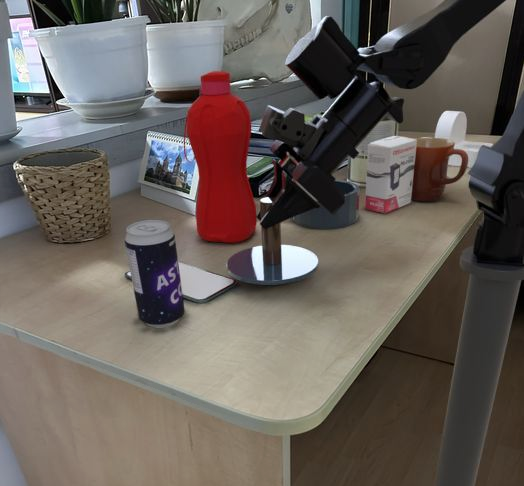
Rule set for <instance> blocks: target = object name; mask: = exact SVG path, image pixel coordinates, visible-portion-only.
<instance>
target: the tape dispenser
mask: <svg viewBox="0 0 524 486" xmlns="http://www.w3.org/2000/svg"><path fill="white" fill-rule="evenodd" d="M467 121H468V120H467V114H466V113H465V112H464V111H457V110H445V111H443V113H441V115H440V116H439V119H438V121H437V125H436V128H435V131H434V138H442V139H448V140H451V141H453V142H455V145H454V149H461V150H464V151H465V152H466V153H467V155H468V165H467V168H470V169H471V168H472V167H473V165H474V163H475V161H476V158H477V154H478V151H479V149H480V147H481V146H482V145H485V146H487V147H490V148H491V147H492V146H493V145H494V143H492V142H491V143H490V142H481V141H470V140H469V141H468V140H466V135H467V128H468V127H467V125H468V122H467ZM421 138H429V137H428V136H427V137H426V136H424V137H423V136H421ZM461 163H462V158H461V156H460V155H457V154H454V155H451V156H450V157H449V161H448V166H454V167H461Z"/></svg>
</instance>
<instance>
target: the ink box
mask: <svg viewBox="0 0 524 486" xmlns="http://www.w3.org/2000/svg"><path fill="white" fill-rule="evenodd" d="M416 139H417V138H411V137H406V136H402V135H401V136H400V135H398V136H392V137H388V138H385V139H381V140H378V141H375V142H371V143H370V144H368V157H367V177H366V187H365V199H364V209H365V210H369V211H373V212H376V213H381V214H388V213H391V212H392V211H395V210H397V209H400V208H402V207H404V206H407V205H410V204H411V203H412V200H411V194H412V185H413V175H414V165H415V156H416V146H417V140H416Z"/></svg>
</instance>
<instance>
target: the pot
mask: <svg viewBox="0 0 524 486" xmlns="http://www.w3.org/2000/svg"><path fill="white" fill-rule="evenodd" d="M334 182H335V183H336V184H337V185H338V186H339V187H340V188H341V189H342V190H343V191H344V192H345V203H344V204H343V205H342V207H341V208H340V209H339V210H338V211H337V212H336V213H335V214H334V215H333V214H331V213H330V212H329V211H328V210H327V209H326V208H325V207H324V206H323V205H322V204H321V203H320V202H318V201H317V202H318V203H319V205H320V206H321V207H320V208H318V209H317V208H314V209H312V210H309V211H307V212H304V213H302V214H299V215H297V216H294V217H292V220H293V222H294V223H295V224H297V225H298V226H300V227H304V228H307V229H316V230H332V229H340V228H346V227H348V226H351V225H353V224H355V223H356V222H357V221H358V218H359V207H360V193H361V192H360V190H361V189H360V188H361V187H360V186H358V185H357V184H354V183H352V182H349V181H347V180H344V179H343V180H342V179H336V180H335V181H334Z"/></svg>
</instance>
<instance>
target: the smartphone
mask: <svg viewBox="0 0 524 486" xmlns="http://www.w3.org/2000/svg"><path fill="white" fill-rule="evenodd" d="M178 264H179V272H180V279H181V287H182V294H183V299H187V300H189V301H193V302H195V303H199V304H202V303H207V302H209V301H210V300H213V299H214V298H216V297H218V296H220V295H221V294H223V293H225V292H227V291H228V290H230V289H232V288H234V287H236V286H237V284H238V281H237V279H236V278H233V277H228V276H226V275H225V276H224V275H221V274H218V273H215V272H212V271H208V270H206V269H203V268H199V267H195V266H193V265H189V264H186V263H183V262H179V261H178ZM124 278H126V279H129V280H131V281H132V278H131V273H130V270H127V271H126V272H124Z"/></svg>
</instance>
